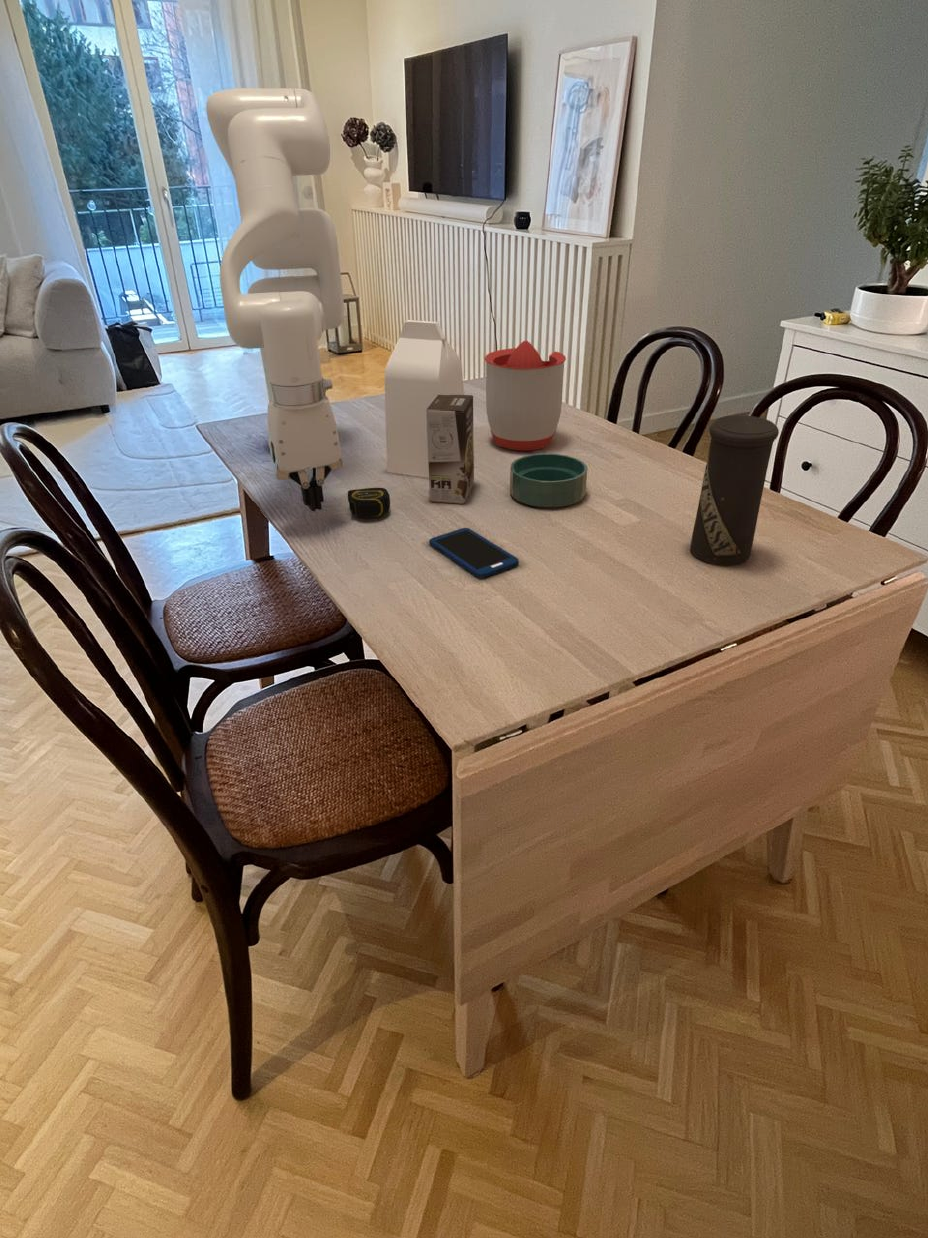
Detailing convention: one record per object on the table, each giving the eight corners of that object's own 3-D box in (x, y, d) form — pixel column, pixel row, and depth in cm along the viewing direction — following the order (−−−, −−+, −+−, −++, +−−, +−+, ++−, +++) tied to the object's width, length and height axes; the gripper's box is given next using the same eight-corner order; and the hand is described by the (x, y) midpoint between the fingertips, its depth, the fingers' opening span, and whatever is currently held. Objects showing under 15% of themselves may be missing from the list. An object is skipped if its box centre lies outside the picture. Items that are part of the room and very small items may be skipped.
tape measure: (388, 503, 125) (387, 483, 123) (392, 520, 119) (391, 499, 117) (348, 507, 124) (346, 486, 122) (350, 524, 118) (348, 503, 116)
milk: (387, 471, 137) (375, 326, 123) (413, 451, 146) (404, 313, 131) (445, 480, 133) (440, 330, 119) (468, 458, 142) (466, 317, 128)
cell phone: (480, 579, 102) (480, 575, 102) (427, 543, 112) (426, 538, 111) (521, 564, 106) (521, 560, 105) (466, 530, 115) (466, 526, 115)
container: (680, 541, 111) (701, 411, 100) (737, 538, 112) (764, 408, 101) (700, 569, 104) (725, 432, 93) (761, 565, 104) (793, 429, 93)
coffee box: (465, 504, 124) (463, 410, 115) (428, 501, 125) (424, 408, 116) (475, 483, 131) (474, 394, 122) (440, 481, 132) (437, 392, 124)
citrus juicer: (577, 434, 152) (584, 334, 141) (539, 461, 140) (543, 353, 129) (512, 423, 159) (514, 326, 148) (470, 447, 147) (469, 344, 136)
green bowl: (496, 489, 129) (496, 462, 126) (557, 474, 134) (558, 448, 131) (536, 516, 120) (537, 487, 117) (600, 499, 125) (602, 472, 122)
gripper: (337, 379, 112) (350, 490, 122) (241, 393, 107) (262, 509, 117) (354, 390, 107) (366, 506, 117) (253, 406, 101) (275, 526, 111)
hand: (314, 507), depth 117 cm, fingers closed
